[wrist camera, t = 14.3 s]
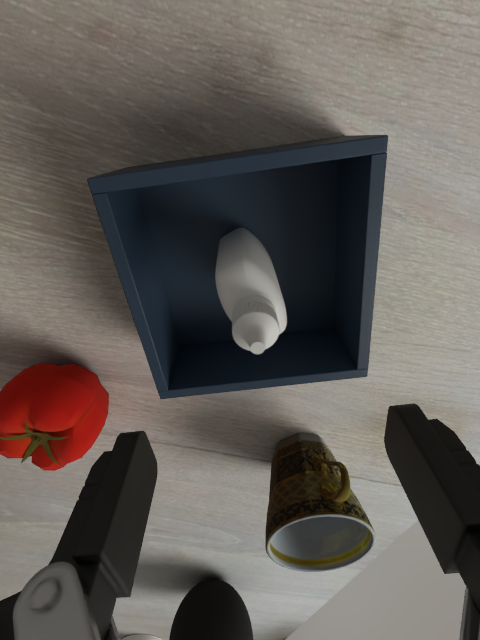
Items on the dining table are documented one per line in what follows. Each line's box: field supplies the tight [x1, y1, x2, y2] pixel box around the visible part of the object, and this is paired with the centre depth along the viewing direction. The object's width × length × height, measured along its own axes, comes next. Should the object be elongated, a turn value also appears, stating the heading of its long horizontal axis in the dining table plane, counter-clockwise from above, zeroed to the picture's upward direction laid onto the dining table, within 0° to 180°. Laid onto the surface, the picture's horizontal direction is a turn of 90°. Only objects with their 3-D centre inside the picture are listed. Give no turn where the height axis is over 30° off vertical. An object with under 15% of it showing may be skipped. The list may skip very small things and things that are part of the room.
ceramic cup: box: [266, 433, 376, 572], centre depth 33 cm, size 13×10×10 cm
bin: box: [87, 135, 388, 399], centre depth 23 cm, size 16×16×7 cm
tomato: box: [0, 363, 109, 471], centre depth 29 cm, size 9×9×8 cm
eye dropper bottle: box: [215, 227, 287, 354], centre depth 20 cm, size 4×6×12 cm
